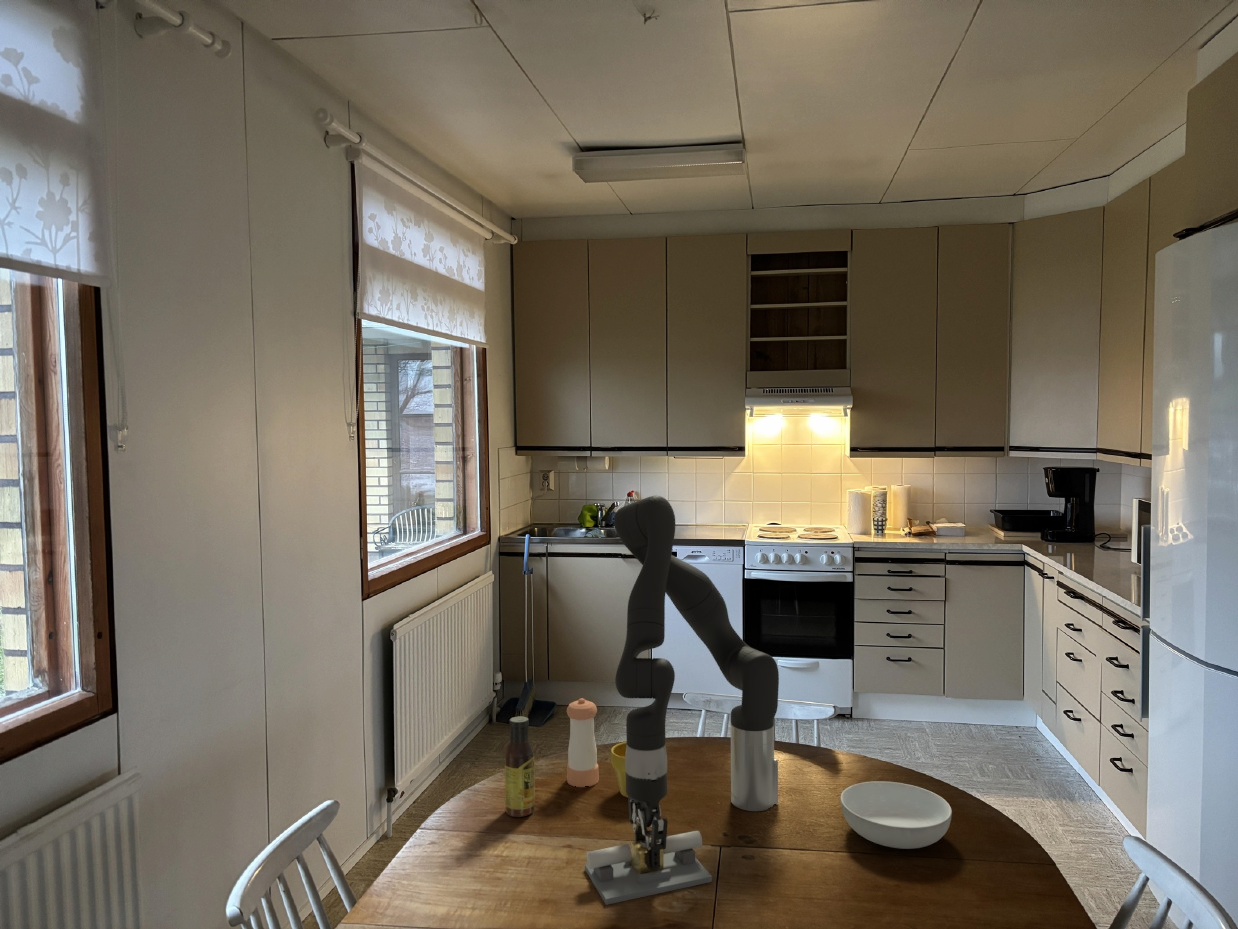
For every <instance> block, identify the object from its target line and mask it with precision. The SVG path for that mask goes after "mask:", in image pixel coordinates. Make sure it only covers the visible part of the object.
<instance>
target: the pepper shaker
mask: <svg viewBox="0 0 1238 929" xmlns="http://www.w3.org/2000/svg"><path fill="white" fill-rule="evenodd" d="M597 713H598V708H597V705H596V704H595V703H594V702H592V701H589V700H586V698H583V697H582V698H579V699H578V700H575V701H572V702H570V703H569V705H568V706H567V709H566V714H567V716H568V717H569V720H570V723H569V725H570V726H569V728H570V729H569V732H570V734H569V735H570V736H569V741H568V742H569V743H568V750H567V754H568V755H567V756H568V757H567V758H568V764H567V766H566V779H567V780H566V781H567V783H568V785H570V786H572V787H575V786H576V787H575V788H586V787H585V786H589V787H592V786H594V785H596V784H598V782H599V781H600V778H599V774H600V773H599V764H598V762H597V761H598V758H597V757H598V750H597V745H596V744H597V743H596V738H595V720H594V718H595V717H596V715H597Z"/></svg>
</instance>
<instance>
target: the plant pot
mask: <svg viewBox="0 0 1238 929" xmlns="http://www.w3.org/2000/svg"><path fill="white" fill-rule="evenodd" d="M626 746H627V741H623V742H621V743H616V744H615V745H614V746H612V748H611V749H610V761H611V763H610V764H611V767H612V768H613V769H614V773H615V776H616V780H617V784H618V788H619V793H620V794H621V795H622V796H623V797H625V798H628V795H627V794H626V768H625V755H626Z"/></svg>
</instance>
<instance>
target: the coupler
mask: <svg viewBox="0 0 1238 929" xmlns="http://www.w3.org/2000/svg"><path fill="white" fill-rule="evenodd" d="M650 839H651V837H650ZM630 845H631V846H630V849H631V853H632V859H631V862H632V867H633V869H634V870H635V872H636V873H637V875H640V874H645V873H650V872H655V871H660V870H664V862H663V849H662V850H660V867H659V868H658V869H653V870H649V868H648V867H647V843H646V839H644V840H639V841H635V840H634V841H631V842H630Z"/></svg>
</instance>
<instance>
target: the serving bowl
mask: <svg viewBox="0 0 1238 929" xmlns="http://www.w3.org/2000/svg"><path fill="white" fill-rule="evenodd" d="M840 805H841V809H842V810H841V811H842V814H843V816H844V819H845V820H846V822H847V823H848V825H849V826H850V827H851V829H853V831H854V832H855V833H857V834H858V835H859V836H861V837H863V838H864V839H866V840H868V841H870V842H873V843H874V844H878V845H880V846H884V847H889V848H893V849H894V848H895V849H903V850H904V849H907V850H909V849H911V850H912V849H920V848H924V847H928V846H931V845H932V844H934V843H937V842H938V841H939V840H941V839H942V838H943V836H944V835H946V833H947V831H948V830H949V828H950V826H951V825H950V824H951V821H952V816H953V811H952V807H951V806H950V804H949V802H947V800H946V799H944V797H942V796H940V795H938V794H936V793H935V792H932V791H931V790H928V789H925V788H922V787H920V786H916V785H912V784H908V783H902V782H896V781H895V782H894V781H884V780H882V781H880V780H879V781H878V780H875V781H865V782H860V783H855V784H852V785H850V786H848V787H846V788H845V789H843V791H842V792H841V794H840Z"/></svg>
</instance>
